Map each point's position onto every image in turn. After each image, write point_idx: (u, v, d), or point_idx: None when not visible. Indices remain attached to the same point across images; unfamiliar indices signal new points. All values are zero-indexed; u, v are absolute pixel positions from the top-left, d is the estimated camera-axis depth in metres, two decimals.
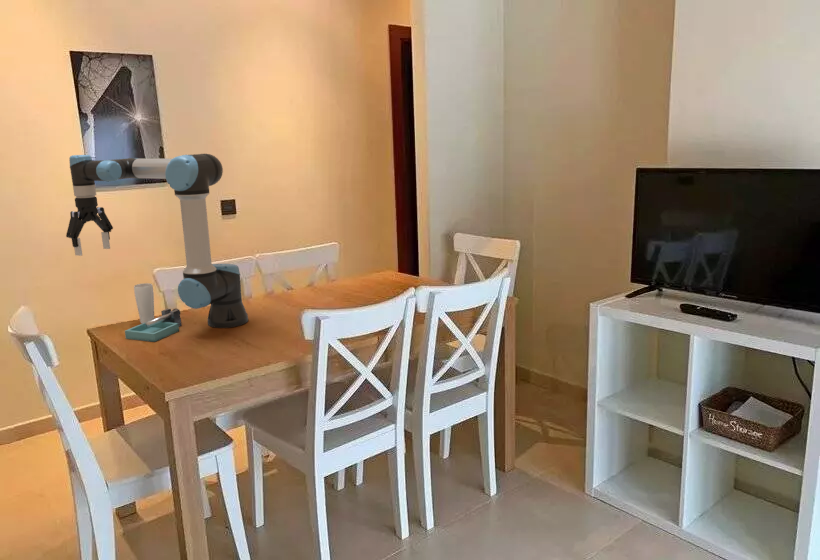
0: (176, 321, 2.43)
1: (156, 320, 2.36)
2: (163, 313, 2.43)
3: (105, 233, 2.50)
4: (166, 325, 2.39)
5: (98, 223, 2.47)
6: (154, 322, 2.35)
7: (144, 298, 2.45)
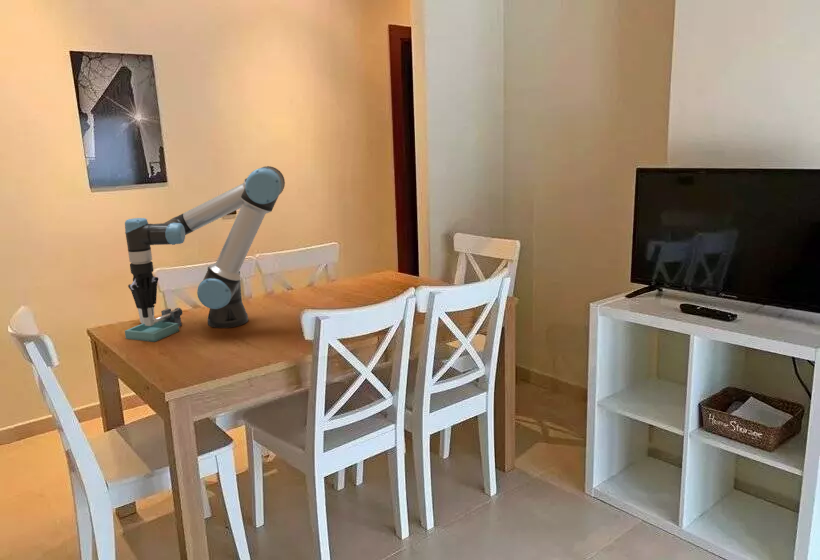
0: (176, 321, 2.43)
1: (158, 319, 2.37)
2: (163, 313, 2.43)
3: None
4: (166, 325, 2.39)
5: (146, 293, 2.31)
6: (156, 321, 2.36)
7: None
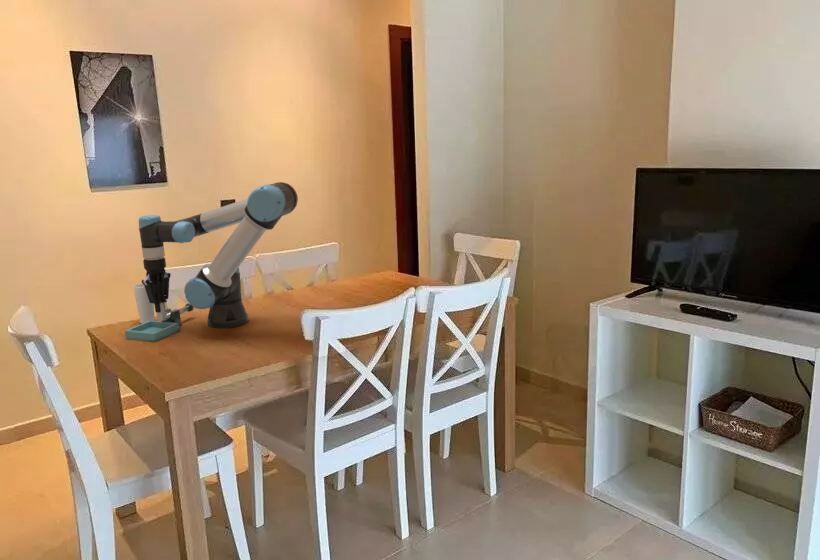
0: (176, 321, 2.43)
1: None
2: None
3: None
4: (166, 325, 2.39)
5: (159, 288, 2.37)
6: (168, 316, 2.42)
7: (144, 298, 2.45)
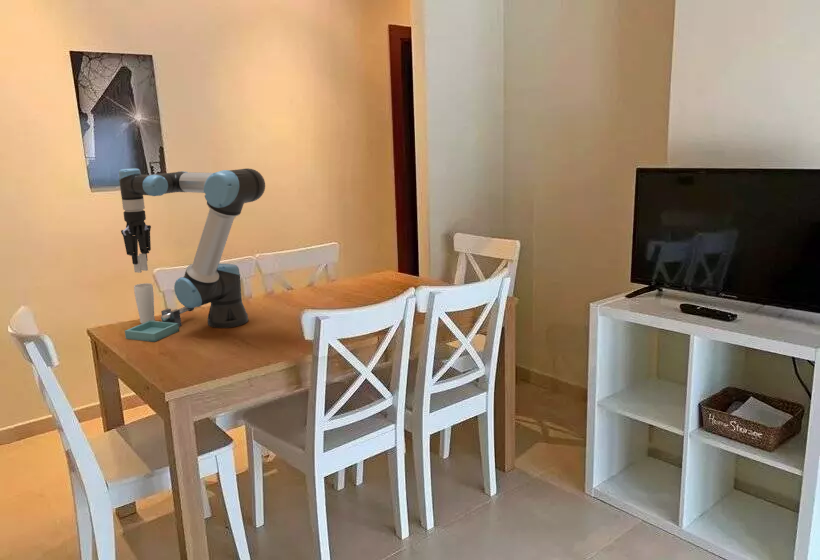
0: (176, 321, 2.43)
1: None
2: (163, 313, 2.43)
3: (143, 255, 2.45)
4: (166, 325, 2.39)
5: (140, 240, 2.44)
6: (169, 316, 2.42)
7: (144, 298, 2.45)
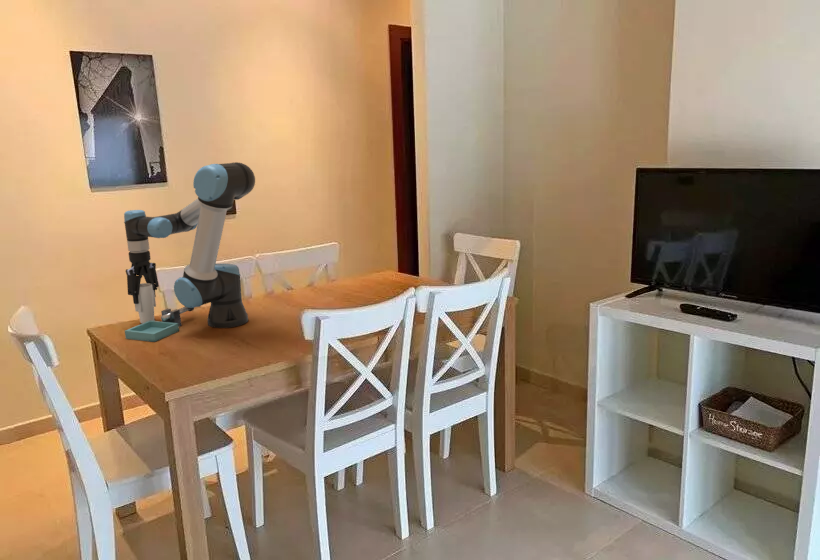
0: (176, 321, 2.43)
1: None
2: (163, 313, 2.43)
3: None
4: (166, 325, 2.39)
5: (147, 278, 2.49)
6: (169, 316, 2.42)
7: (144, 298, 2.45)
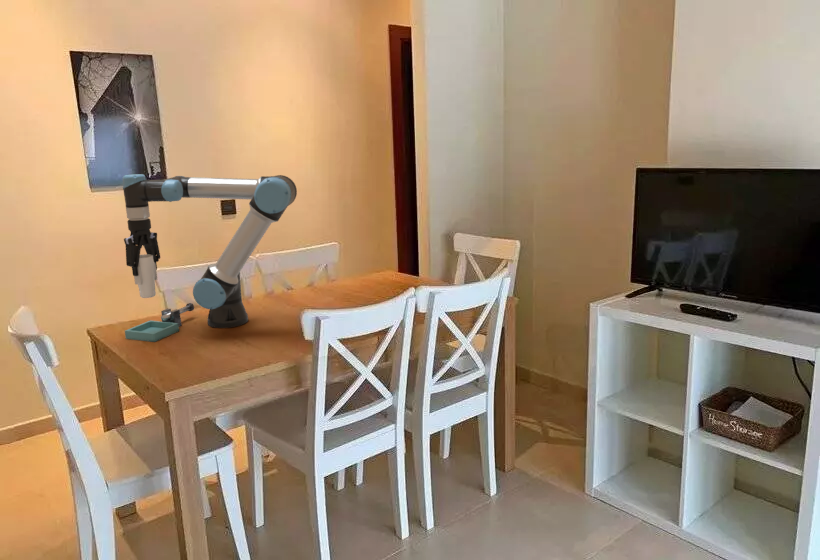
0: (176, 321, 2.43)
1: None
2: (163, 313, 2.43)
3: None
4: (166, 325, 2.39)
5: (148, 249, 2.31)
6: (169, 316, 2.42)
7: (144, 270, 2.27)
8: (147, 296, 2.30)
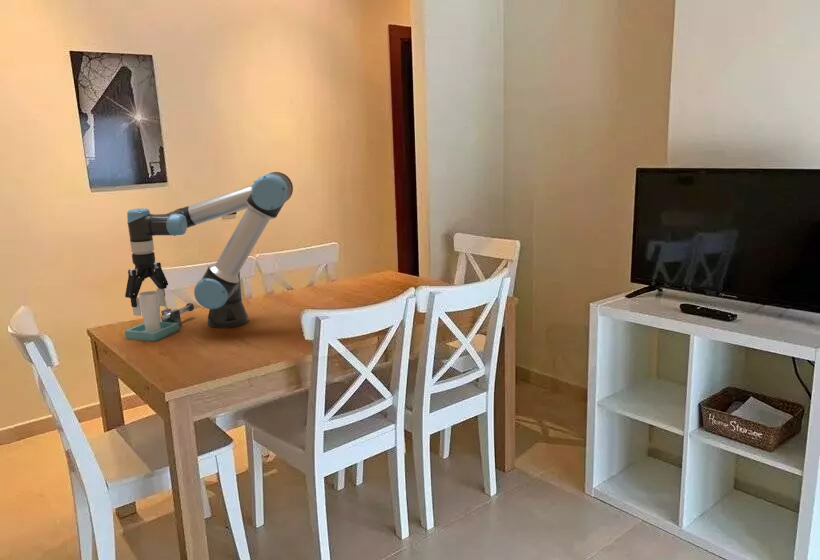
0: (176, 321, 2.43)
1: None
2: (163, 313, 2.43)
3: (161, 290, 2.37)
4: (166, 325, 2.39)
5: (154, 279, 2.34)
6: (169, 316, 2.42)
7: (150, 307, 2.30)
8: (153, 332, 2.33)
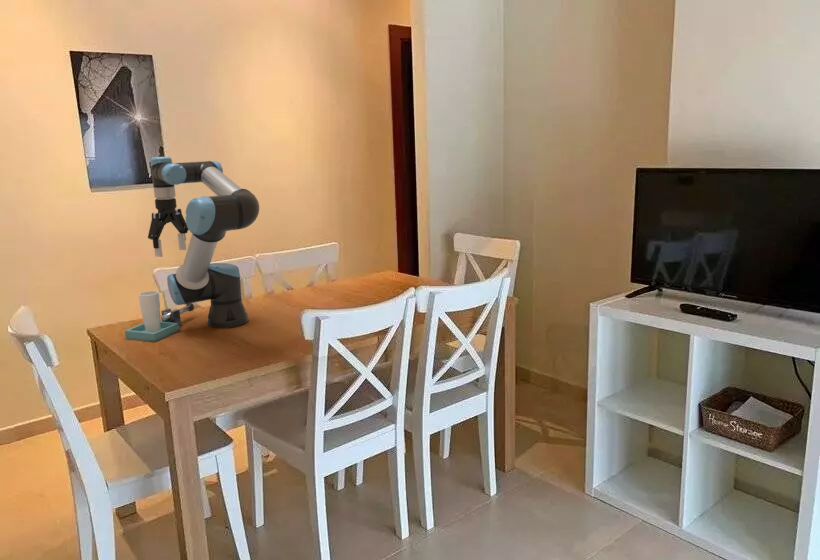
0: (176, 321, 2.43)
1: None
2: (163, 313, 2.43)
3: (182, 234, 2.52)
4: (166, 325, 2.39)
5: (176, 224, 2.49)
6: (169, 316, 2.42)
7: (150, 307, 2.30)
8: (153, 332, 2.33)
